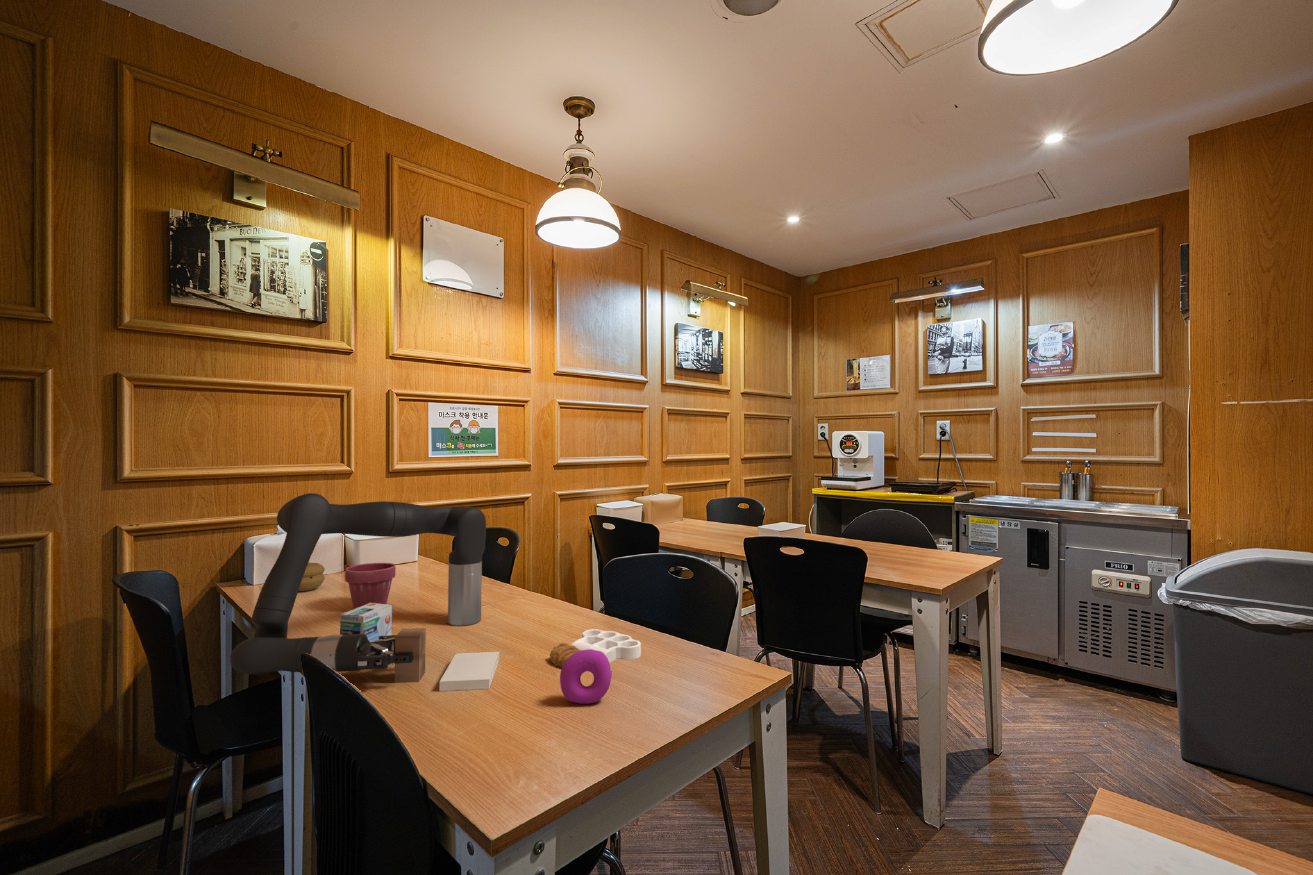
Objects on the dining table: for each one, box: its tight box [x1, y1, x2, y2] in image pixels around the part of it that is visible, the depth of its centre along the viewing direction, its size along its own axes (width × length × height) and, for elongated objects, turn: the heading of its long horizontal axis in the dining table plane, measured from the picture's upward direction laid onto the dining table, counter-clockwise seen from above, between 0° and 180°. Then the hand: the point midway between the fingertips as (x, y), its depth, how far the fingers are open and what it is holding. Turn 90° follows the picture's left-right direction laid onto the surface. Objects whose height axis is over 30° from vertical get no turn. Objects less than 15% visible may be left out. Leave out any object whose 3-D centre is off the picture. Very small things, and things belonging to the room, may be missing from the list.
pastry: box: [549, 642, 579, 669], centre depth 133 cm, size 9×7×4 cm
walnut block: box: [394, 627, 427, 684], centre depth 124 cm, size 5×5×10 cm
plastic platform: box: [439, 651, 500, 692], centre depth 125 cm, size 16×10×2 cm, turn 8°
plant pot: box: [344, 562, 396, 609], centre depth 177 cm, size 14×14×13 cm
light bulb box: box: [339, 603, 393, 642], centre depth 138 cm, size 11×7×11 cm, turn 168°
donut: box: [559, 649, 613, 704], centre depth 113 cm, size 8×9×10 cm
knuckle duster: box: [570, 628, 642, 664], centre depth 141 cm, size 3×18×15 cm
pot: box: [298, 561, 326, 592], centre depth 197 cm, size 12×12×10 cm
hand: (418, 649), depth 124 cm, fingers open, 8 cm apart
